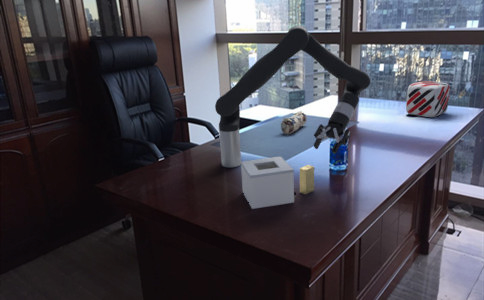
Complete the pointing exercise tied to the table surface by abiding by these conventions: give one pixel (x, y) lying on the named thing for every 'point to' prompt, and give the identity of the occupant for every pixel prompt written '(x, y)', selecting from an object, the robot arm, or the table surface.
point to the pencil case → (293, 123)
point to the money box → (267, 182)
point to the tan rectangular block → (306, 179)
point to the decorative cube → (427, 98)
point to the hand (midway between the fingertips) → (324, 150)
